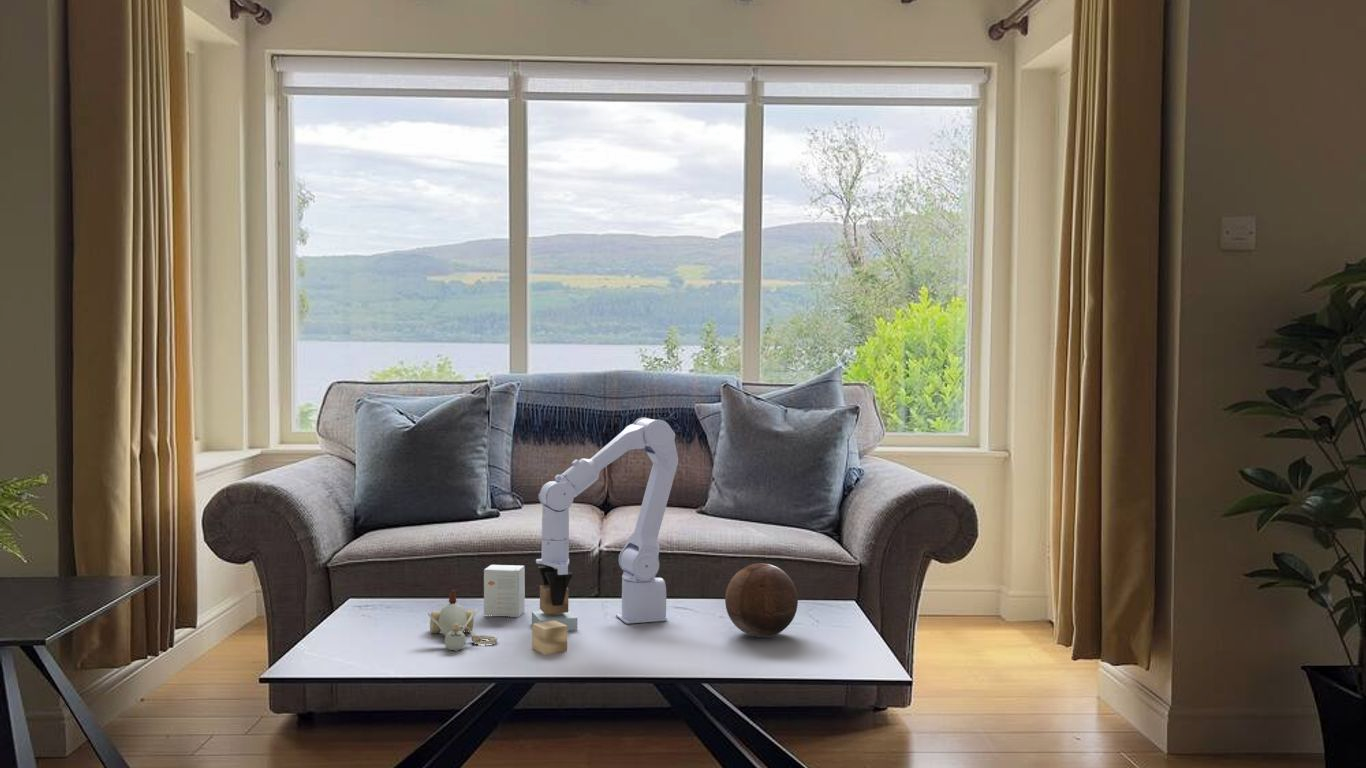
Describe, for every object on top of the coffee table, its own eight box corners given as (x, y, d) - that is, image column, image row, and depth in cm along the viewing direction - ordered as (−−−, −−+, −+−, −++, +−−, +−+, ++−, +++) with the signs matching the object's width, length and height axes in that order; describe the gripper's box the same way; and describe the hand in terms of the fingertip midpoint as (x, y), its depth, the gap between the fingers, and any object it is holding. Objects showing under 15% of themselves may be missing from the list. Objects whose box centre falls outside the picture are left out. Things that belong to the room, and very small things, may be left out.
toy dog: (446, 655, 203) (446, 609, 202) (408, 634, 218) (408, 591, 217) (504, 646, 210) (504, 601, 210) (463, 626, 225) (464, 584, 225)
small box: (525, 611, 237) (525, 565, 237) (518, 618, 232) (519, 570, 231) (490, 610, 238) (490, 564, 238) (483, 616, 232) (483, 568, 232)
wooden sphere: (811, 636, 220) (812, 564, 219) (766, 650, 209) (767, 574, 208) (755, 623, 230) (756, 554, 230) (709, 635, 219) (710, 563, 219)
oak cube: (554, 645, 210) (554, 620, 210) (567, 651, 206) (567, 625, 206) (532, 649, 207) (532, 623, 207) (544, 655, 203) (544, 629, 203)
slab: (568, 622, 230) (568, 608, 230) (577, 631, 222) (577, 617, 222) (531, 625, 227) (531, 611, 227) (539, 634, 219) (540, 620, 219)
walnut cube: (562, 606, 228) (562, 583, 227) (568, 612, 223) (568, 588, 223) (539, 608, 226) (539, 585, 226) (545, 614, 221) (545, 590, 221)
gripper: (529, 533, 229) (528, 596, 230) (544, 545, 216) (543, 611, 216) (561, 532, 232) (560, 593, 232) (578, 543, 218) (577, 608, 219)
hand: (554, 602), depth 224 cm, fingers closed on walnut cube, 5 cm apart
